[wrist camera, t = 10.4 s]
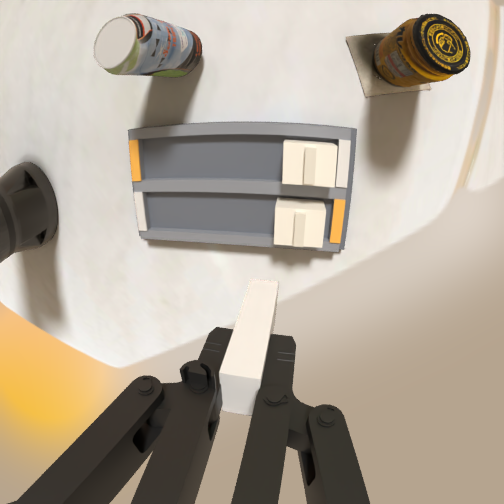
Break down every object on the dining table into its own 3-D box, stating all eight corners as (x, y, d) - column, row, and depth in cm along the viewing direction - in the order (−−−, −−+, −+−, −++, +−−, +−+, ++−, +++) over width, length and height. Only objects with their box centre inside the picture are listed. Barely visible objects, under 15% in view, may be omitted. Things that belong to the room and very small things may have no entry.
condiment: (430, 89, 24) (488, 84, 13) (365, 97, 26) (402, 87, 15) (411, 32, 21) (460, 2, 10) (345, 37, 23) (369, -2, 12)
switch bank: (143, 232, 37) (135, 239, 35) (133, 128, 31) (122, 130, 29) (342, 245, 34) (345, 254, 32) (354, 128, 28) (359, 129, 25)
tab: (276, 231, 33) (273, 247, 29) (277, 197, 31) (274, 209, 27) (320, 234, 32) (322, 251, 28) (323, 200, 30) (326, 213, 27)
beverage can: (214, 63, 26) (170, 38, 16) (159, 92, 29) (97, 89, 18) (194, 22, 24) (145, -13, 14) (141, 53, 26) (78, 37, 16)
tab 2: (283, 176, 30) (281, 185, 26) (285, 139, 28) (283, 142, 24) (330, 179, 29) (335, 189, 25) (332, 142, 28) (338, 147, 24)
